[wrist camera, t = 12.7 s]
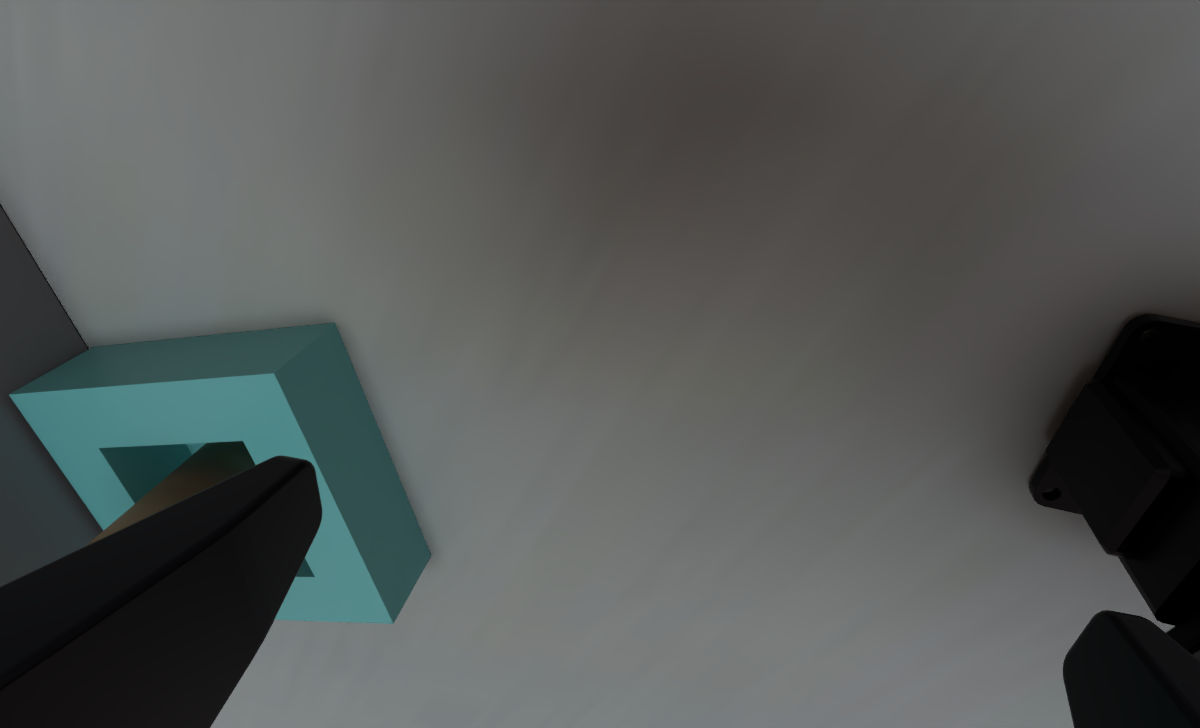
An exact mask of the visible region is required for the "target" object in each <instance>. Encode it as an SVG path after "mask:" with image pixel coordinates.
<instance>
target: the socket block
mask: <svg viewBox="0 0 1200 728" xmlns="http://www.w3.org/2000/svg"><path fill="white" fill-rule="evenodd" d="M9 396H10V397H11V399H12V400H13V402H14V403H15V405H16V406H17V407H18V409H19V410H20V412H21V413H22V415H23V416H24V417H25V419H26V420H27V422H28V423H29V425H30V426H31V427H32V429H33V430H34V432H35V433H36V435H37V436H38V437H39V439H40V440H41V442H42V443H43V445H44V446H45V448H46V449H47V450H48V452H49V453H50V455H51V456H52V458H53V459H54V460H55V462H56V463H57V465H58V466H59V468H60V469H61V470H62V472H63V473H64V475H65V476H66V478H67V479H68V480H69V482H70V483H71V485H72V486H73V488H74V489H75V491H76V492H77V493H78V495H79V496H80V498H81V499H82V501H83V502H84V503H85V505H86V506H87V508H88V509H89V511H90V512H91V513H92V515H93V516H94V518H95V519H96V521H97V522H98V523H99V525H100V526H101V528H102V529H103V531H104V530H105V529H106V528H107V527H108V526H110V525H111V524H112V523H113V522H114V521H115V520H117V519H118V518H119V517H120V516H121V515H122V514H124V513H125V512H126V511H127V510H128V509H130V508H131V507H132V506H133V505H134V504H135V503H137V502H138V501H139V500H140V499H141V498H142V497H144V496H145V495H146V494H147V493H148V492H149V491H151V490H152V489H153V488H154V487H155V486H156V485H158V484H159V483H160V482H161V481H162V480H164V479H165V478H166V477H167V476H168V475H169V474H171V473H172V472H173V471H174V470H175V469H176V468H178V467H179V466H180V465H181V464H182V463H183V462H185V461H186V460H187V459H188V458H189V457H190V456H192V455H193V454H194V453H195V452H196V451H198V450H199V449H200V448H201V447H202V446H203V445H205V444H206V443H212V442H232V441H243V442H244V444H245V446H246V448H247V450H248V451H249V453H250V455H251V457H252V459H253V461H254V463H255V465H257V464H259V463H261V462H264V461H266V460H268V459H270V458H272V457H275V456H289V457H294V458H300V459H305V460H308V461H310V462H311V463H312V464H313V466H314V467H315V471H316V476H317V482H318V487H319V493H320V498H321V504H322V520H321V524H320V527H319V530H318V532H317V534H316V536H315V538H314V540H313V542H312V544H311V546H310V548H309V550H308V552H307V554H306V556H305V558H304V561H303V563H302V565H301V567H300V569H299V571H298V573H297V575H296V577H295V579H294V581H293V583H292V585H291V587H290V589H289V591H288V593H287V595H286V597H285V599H284V601H283V603H282V605H281V607H280V609H279V611H278V613H277V616H276V618H275V620H300V621H329V622H358V623H387V624H393V623H394V622H395V620H396V618H397V616H398V614H399V613H400V611H401V609H402V607H403V605H404V604H405V602H406V600H407V598H408V596H409V595H410V593H411V591H412V589H413V587H414V586H415V584H416V582H417V580H418V578H419V577H420V575H421V573H422V571H423V569H424V568H425V566H426V564H427V562H428V560H429V559H430V557H431V554H430V551H429V549H428V546H427V544H426V541H425V539H424V537H423V534H422V532H421V529H420V527H419V525H418V522H417V520H416V517H415V515H414V513H413V510H412V508H411V505H410V503H409V500H408V498H407V496H406V493H405V491H404V488H403V486H402V484H401V481H400V479H399V476H398V474H397V471H396V469H395V467H394V464H393V462H392V459H391V457H390V455H389V452H388V450H387V447H386V445H385V443H384V440H383V438H382V435H381V433H380V430H379V428H378V426H377V423H376V421H375V418H374V416H373V414H372V411H371V409H370V406H369V404H368V401H367V399H366V397H365V394H364V392H363V389H362V387H361V385H360V382H359V380H358V377H357V375H356V373H355V370H354V368H353V365H352V363H351V360H350V358H349V356H348V353H347V351H346V348H345V346H344V344H343V341H342V339H341V336H340V334H339V331H338V329H337V327H336V324H335V323H327V324H317V325H307V326H297V327H287V328H277V329H267V330H257V331H247V332H237V333H227V334H217V335H207V336H197V337H187V338H177V339H167V340H157V341H147V342H137V343H127V344H117V345H107V346H97V347H92V348H90V349H88V350H87V351H85V352H83V353H81V354H80V355H78V356H76V357H74V358H73V359H71V360H69V361H67V362H65V363H64V364H62V365H60V366H58V367H57V368H55V369H53V370H51V371H50V372H48V373H46V374H44V375H42V376H41V377H39V378H37V379H35V380H34V381H32V382H30V383H28V384H26V385H25V386H23V387H21V388H19V389H18V390H16V391H14V392H12V393H11V394H9Z"/></svg>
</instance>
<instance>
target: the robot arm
mask: <svg viewBox="0 0 1200 728" xmlns="http://www.w3.org/2000/svg"><path fill="white" fill-rule="evenodd" d="M1150 329H1155V331H1154V333H1153V334H1152V335H1151V336H1150V337H1148V338H1146V339H1140V336H1141V335H1142V334H1143V333H1144V332H1145V331H1148V330H1150ZM1046 454H1047V455H1046V457H1045V459H1044V460H1043V462H1042V463H1041V465H1040V467H1039V468H1038V470H1037V472H1036V473H1035V475H1034V477H1033V478H1032V480H1031V482H1030V485H1029V490H1030V493H1031V494H1032V496H1033V498H1034V500H1035V501H1036V502H1037V503H1038V504H1040V505H1042V506H1045V507H1050V508H1054V509H1059V510H1064V511H1068V512H1073V513H1077V514H1082V515H1083V517H1084V518H1085V520H1086V522H1087V523H1088V525H1089V527H1090V528H1091V530H1092V532H1093V533H1094V535H1095V537H1096V538H1097V540H1098V542H1099V543H1100V545H1101V547H1102V548H1103V550H1104V551H1105V552H1106V553H1107V554H1109V555H1113V556H1118V558H1119V559H1120V561H1121V563H1122V564H1123V566H1124V567H1125V569H1126V571H1127V572H1128V574H1129V575H1130V577H1131V579H1132V580H1133V582H1134V584H1135V585H1136V587H1137V588H1138V590H1139V592H1140V593H1141V595H1142V597H1143V598H1144V600H1145V601H1146V603H1147V605H1148V606H1149V608H1150V610H1151V611H1152V613H1153V614H1154V616H1155V618H1156V619H1157V620H1158V621H1160V622H1162V623H1166V624H1170V625H1174V626H1175V627H1173V628H1172V629H1170V630H1169V631H1167V632H1166V633H1165V632H1164V631H1162V630H1161V629H1160V628H1159V627H1158V626H1156V625H1155V624H1154V623H1152V622H1151V621H1150V620H1148V619H1146V618H1143V617H1140V616H1136V615H1131V614H1125V613H1120V612H1115V611H1109V610H1106V611H1101V612H1099V613H1097V614H1095V615H1094V617H1093V618H1092V619H1091V620H1090V622H1089V623H1088V625H1087V626H1086V627H1085V629H1084V630H1083V632H1082V633H1081V634H1080V636H1079V637H1078V639H1077V640H1076V642H1075V643H1074V644H1073V646H1072V647H1071V649H1070V650H1069V651H1068V653H1067V655H1066V657H1065V660H1064V664H1063V678H1064V684H1065V688H1066V693H1067V697H1068V702H1069V706H1070V711H1071V715H1072V720H1073V724H1074V728H1200V323H1198V322H1192V321H1187V320H1182V319H1176V318H1171V317H1166V316H1160V315H1155V314H1144V315H1140V316H1137V317H1135V318H1133V319H1132V320H1130V321H1129V322H1128V323H1127V324H1126V325H1125V326H1124V328H1123V329H1122V331H1121V333H1120V334H1119V336H1118V338H1117V339H1116V341H1115V343H1114V344H1113V346H1112V348H1111V349H1110V351H1109V353H1108V354H1107V356H1106V358H1105V359H1104V361H1103V363H1102V364H1101V366H1100V367H1099V369H1098V371H1097V372H1096V374H1095V376H1094V377H1093V379H1092V380H1091V381H1090V382H1089V383H1087V384H1086V385H1085V386H1084V387H1083V389H1082V390H1081V392H1080V394H1079V395H1078V397H1077V399H1076V400H1075V402H1074V404H1073V405H1072V407H1071V409H1070V410H1069V412H1068V414H1067V415H1066V417H1065V419H1064V420H1063V422H1062V424H1061V425H1060V427H1059V429H1058V430H1057V432H1056V434H1055V435H1054V437H1053V439H1052V440H1051V442H1050V444H1049V445H1048V447H1047V449H1046ZM1049 488H1055V489H1054V490H1053V491H1050V492H1044V491H1045V490H1046V489H1049ZM321 520H322V504H321V498H320V493H319V487H318V482H317V476H316V471H315V467H314V466H313V464H312V463H311V462H310V461H308V460H305V459H300V458H294V457H289V456H275V457H272V458H270V459H268V460H266V461H264V462H261V463H259V464H257V465H255V466H253V467H251V468H249V469H247V470H245V471H242V472H240V473H238V474H236V475H234V476H232V477H230V478H228V479H226V480H224V481H221V482H219V483H217V484H215V485H213V486H211V487H209V488H207V489H205V490H203V491H200V492H198V493H196V494H194V495H192V496H190V497H188V498H186V499H184V500H182V501H179V502H177V503H175V504H173V505H171V506H169V507H167V508H165V509H163V510H161V511H158V512H156V513H154V514H152V515H150V516H148V517H146V518H144V519H142V520H140V521H137V522H135V523H133V524H131V525H129V526H127V527H125V528H123V529H121V530H119V531H116V532H114V533H112V534H110V535H108V536H106V537H104V538H102V539H100V540H98V541H95V542H93V543H91V544H89V545H87V546H85V547H83V548H81V549H79V550H77V551H74V552H72V553H70V554H68V555H66V556H64V557H62V558H60V559H58V560H55V561H53V562H51V563H49V564H47V565H45V566H43V567H41V568H39V569H37V570H34V571H32V572H30V573H28V574H26V575H24V576H22V577H20V578H18V579H16V580H13V581H11V582H9V583H7V584H5V585H3V586H1V587H0V728H210V727H211V725H212V724H213V722H214V720H215V719H216V717H217V716H218V714H219V712H220V711H221V709H222V708H223V706H224V704H225V703H226V701H227V700H228V698H229V696H230V695H231V693H232V692H233V690H234V688H235V687H236V685H237V684H238V682H239V680H240V679H241V677H242V676H243V674H244V672H245V671H246V669H247V668H248V666H249V664H250V663H251V661H252V659H253V658H254V656H255V654H256V653H257V651H258V649H259V648H260V646H261V644H262V643H263V641H264V639H265V637H266V635H267V633H268V631H269V629H270V627H271V626H272V624H273V622H274V620H275V618H276V616H277V613H278V611H279V609H280V607H281V605H282V603H283V601H284V599H285V597H286V595H287V593H288V591H289V589H290V587H291V585H292V583H293V581H294V579H295V577H296V575H297V573H298V571H299V569H300V567H301V565H302V563H303V561H304V558H305V556H306V554H307V552H308V550H309V548H310V546H311V544H312V542H313V540H314V538H315V536H316V534H317V532H318V530H319V527H320V524H321Z"/></svg>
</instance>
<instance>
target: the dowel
mask: <svg viewBox="0 0 1200 728" xmlns="http://www.w3.org/2000/svg"><path fill="white" fill-rule="evenodd" d="M253 466H255V463H254V461H253V459H252V457H251V455H250V453H249V451H248V450H247V448H246V446H245V444H244V442H243V441H232V442H212V443H206V444H205V445H203V446H202V447H201V448H200V449H199V450H198V451H196V452H195V453H194V454H193V455H192V456H190V457H189V458H188V459H187V460H186V461H185V462H183V463H182V464H181V465H180V466H179V467H178V468H176V469H175V470H174V471H173V472H172V473H171V474H169V475H168V476H167V477H166V478H165V479H164V480H162V481H161V482H160V483H159V484H158V485H156V486H155V487H154V488H153V489H152V490H151V491H149V492H148V493H147V494H146V495H145V496H144V497H142V498H141V499H140V500H139V501H138V502H137V503H135V504H134V505H133V506H132V507H131V508H130V509H128V510H127V511H126V512H125V513H124V514H122V515H121V516H120V517H119V518H118V519H117V520H115V521H114V522H113V523H112V524H111V525H110V526H108V527H107V528H106V529H105V530H104V531H103V532H101V533H100V534H99V535H98V536H97V537H96V538H94V539H93V540H92V541H91V542H90V543H88V544H87V545H89V544H91V543H93V542H95V541H98V540H100V539H102V538H104V537H106V536H108V535H110V534H112V533H114V532H116V531H119V530H121V529H123V528H125V527H127V526H129V525H131V524H133V523H135V522H137V521H140V520H142V519H144V518H146V517H148V516H150V515H152V514H154V513H156V512H158V511H161V510H163V509H165V508H167V507H169V506H171V505H173V504H175V503H177V502H179V501H182V500H184V499H186V498H188V497H190V496H192V495H194V494H196V493H198V492H200V491H203V490H205V489H207V488H209V487H211V486H213V485H215V484H217V483H219V482H221V481H224V480H226V479H228V478H230V477H232V476H234V475H236V474H238V473H240V472H242V471H245V470H247V469H249V468H251V467H253ZM87 545H86V546H87Z"/></svg>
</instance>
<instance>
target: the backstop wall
mask: <svg viewBox="0 0 1200 728" xmlns="http://www.w3.org/2000/svg"><path fill="white" fill-rule="evenodd" d="M87 350H88V349H87V347H86V346H85V344H84V342H83V341H82V339H81V337H80V336H79V334H78V332H77V331H76V329H75V328H74V326H73V324H72V323H71V321H70V319H69V318H68V316H67V314H66V313H65V311H64V310H63V308H62V306H61V305H60V303H59V301H58V300H57V298H56V296H55V295H54V293H53V292H52V290H51V288H50V287H49V285H48V283H47V282H46V280H45V278H44V277H43V275H42V273H41V272H40V270H39V269H38V267H37V265H36V264H35V262H34V260H33V259H32V257H31V255H30V254H29V252H28V251H27V249H26V247H25V246H24V244H23V242H22V241H21V239H20V237H19V236H18V234H17V233H16V231H15V229H14V228H13V226H12V224H11V223H10V221H9V219H8V218H7V216H6V215H5V213H4V211H3V210H2V208H1V206H0V587H1V586H3V585H5V584H7V583H9V582H11V581H13V580H16V579H18V578H20V577H22V576H24V575H26V574H28V573H30V572H32V571H34V570H37V569H39V568H41V567H43V566H45V565H47V564H49V563H51V562H53V561H55V560H58V559H60V558H62V557H64V556H66V555H68V554H70V553H72V552H74V551H77V550H79V549H81V548H83V547H85V546H86V545H87V544H88V543H90V542H91V541H92V540H93V539H94V538H96V537H97V536H98V535H99V534H100V533H101V532H103V529H102V528H101V526H100V525H99V523H98V522H97V521H96V519H95V518H94V516H93V515H92V513H91V512H90V511H89V509H88V508H87V506H86V505H85V503H84V502H83V501H82V499H81V498H80V496H79V495H78V493H77V492H76V491H75V489H74V488H73V486H72V485H71V483H70V482H69V480H68V479H67V478H66V476H65V475H64V473H63V472H62V470H61V469H60V468H59V466H58V465H57V463H56V462H55V460H54V459H53V458H52V456H51V455H50V453H49V452H48V450H47V449H46V448H45V446H44V445H43V443H42V442H41V440H40V439H39V437H38V436H37V435H36V433H35V432H34V430H33V429H32V427H31V426H30V425H29V423H28V422H27V420H26V419H25V417H24V416H23V415H22V413H21V412H20V410H19V409H18V407H17V406H16V405H15V403H14V402H13V400H12V399H11V397H10V396H9V394H11V393H12V392H14V391H16V390H18V389H19V388H21V387H23V386H25V385H26V384H28V383H30V382H32V381H34V380H35V379H37V378H39V377H41V376H42V375H44V374H46V373H48V372H50V371H51V370H53V369H55V368H57V367H58V366H60V365H62V364H64V363H65V362H67V361H69V360H71V359H73V358H74V357H76V356H78V355H80V354H81V353H83V352H85V351H87Z"/></svg>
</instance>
